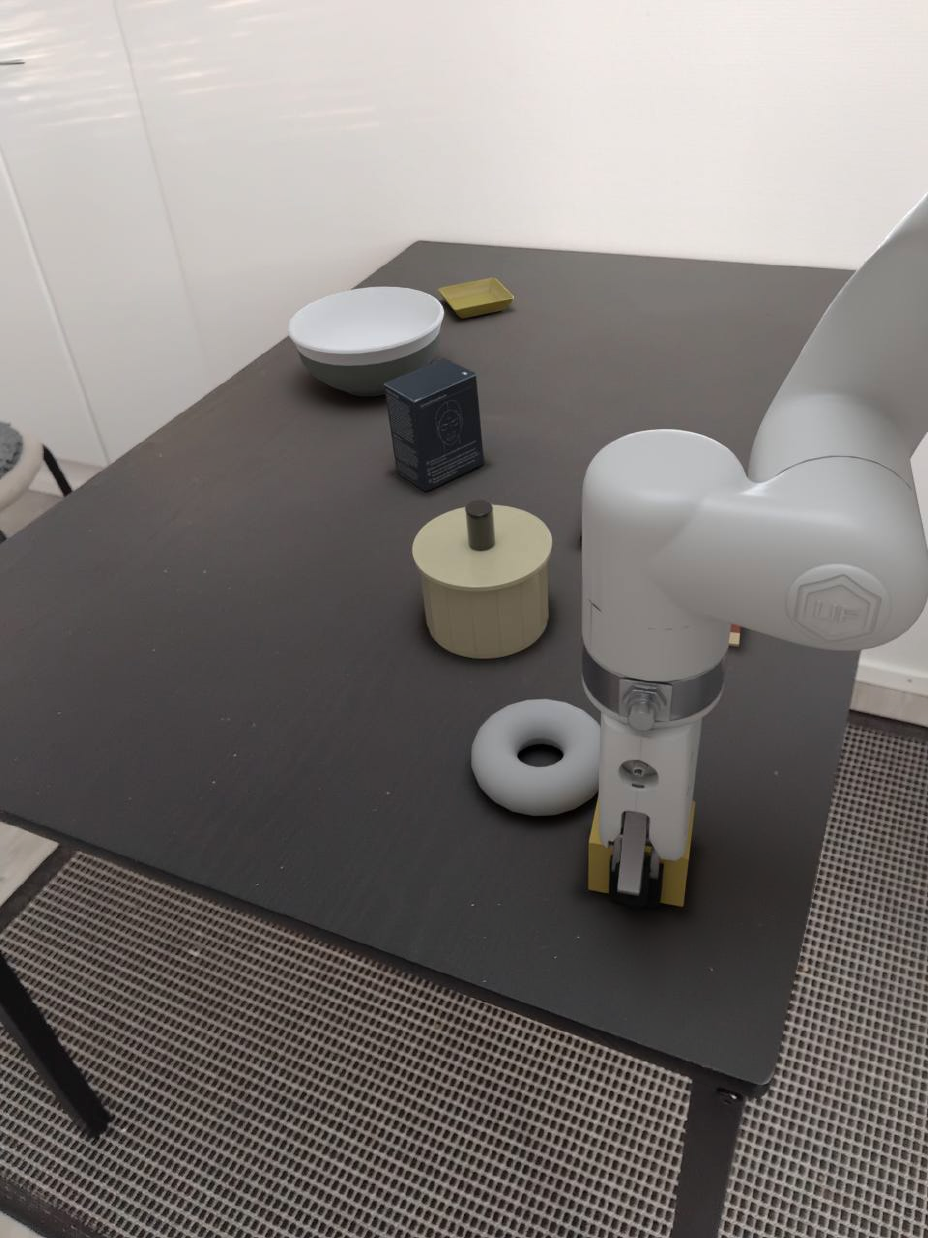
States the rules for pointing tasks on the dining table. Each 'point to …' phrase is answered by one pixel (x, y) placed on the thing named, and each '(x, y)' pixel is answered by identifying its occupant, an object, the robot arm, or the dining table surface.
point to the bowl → (367, 336)
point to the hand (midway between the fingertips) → (640, 864)
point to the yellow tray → (477, 297)
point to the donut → (538, 785)
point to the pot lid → (482, 547)
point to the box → (435, 423)
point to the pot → (487, 617)
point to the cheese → (672, 869)
